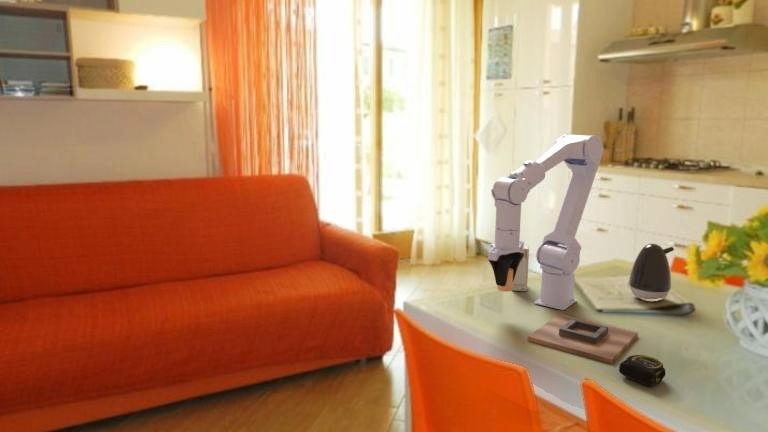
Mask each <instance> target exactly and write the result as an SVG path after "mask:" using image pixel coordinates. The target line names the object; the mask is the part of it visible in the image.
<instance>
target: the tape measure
mask: <svg viewBox="0 0 768 432" xmlns="http://www.w3.org/2000/svg"><path fill="white" fill-rule="evenodd" d="M618 371H619V373H620V374H621V375H622V376H624V377H626V378H628V379H630V380H633V381H636V382H637V383H638V382H639V383H641V384H644V385H645V386H648V387H654V386H655V385H657V384H659V383H662V381H663V379H664V378H665V376H666V369H665V368H664V364H663V363H662V361H660V360H659V359H657V358H655V357H652V356H649V355H643V354H635V355H630V356H628V357H626V358H625V360H623V361H621V362H620V363H619V366H618Z"/></svg>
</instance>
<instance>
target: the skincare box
mask: <svg viewBox="0 0 768 432" xmlns="http://www.w3.org/2000/svg"><path fill="white" fill-rule="evenodd" d="M518 252H521V253H524V257H523V258H522V260H521V262H520V264H519V266H518V268H517V271H516V275H515V278H514V281H513V284H512V291H515V292H516V291H519V292H527V291H528V278H529V277H528V275H529V259H530V258H529V257H530V256H529V255H530V254H529V253H530V247H529V245H528V244H525V243H524V248H523V249H522V250H520V251H518Z"/></svg>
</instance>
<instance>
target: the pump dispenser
mask: <svg viewBox="0 0 768 432" xmlns="http://www.w3.org/2000/svg"><path fill="white" fill-rule="evenodd" d="M674 251H675V249H674V247H673V246H670V247H666V248H663V247H661V245H659V244H657V243H648V244H646V245H645V246H643V247H642V248H641V250H640V251H639V252H638V254H637V256H636V258H635V260H634V262H633V266H632V267H631V270H630V275H629V281H628V285H629V287H630V291H631V293H632V294H633V296H634V295H635V296H636V297H635V296H634V297H635V298H637V297H639V298H644V299H658V298H663V297H665V298H666V297H667V296H668V295H669V292H670V291H671V289H672V273H671V267H670V264H669V263H670V262H669V259H668V256H667V254H669V253H671V252H674Z"/></svg>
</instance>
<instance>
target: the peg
mask: <svg viewBox="0 0 768 432" xmlns="http://www.w3.org/2000/svg"><path fill="white" fill-rule="evenodd" d="M512 284H513V269H512V268H509V271H508V276H507V282H506V285H505V286H499V285H497V284H496V289H497V290H498V291H501V292H512V291H513V290H512Z"/></svg>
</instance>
